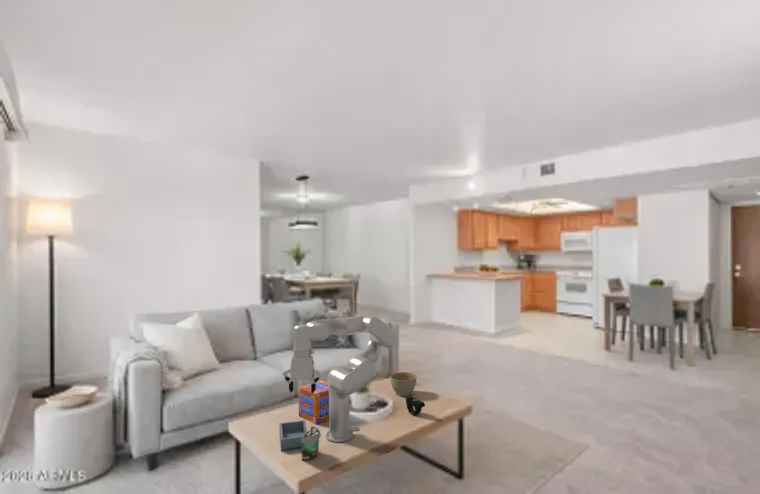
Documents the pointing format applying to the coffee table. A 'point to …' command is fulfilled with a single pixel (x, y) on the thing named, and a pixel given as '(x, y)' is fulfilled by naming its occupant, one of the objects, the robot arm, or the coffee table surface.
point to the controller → (416, 403)
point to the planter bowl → (403, 383)
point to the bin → (292, 434)
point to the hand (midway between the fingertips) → (302, 391)
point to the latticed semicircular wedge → (310, 444)
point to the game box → (314, 402)
